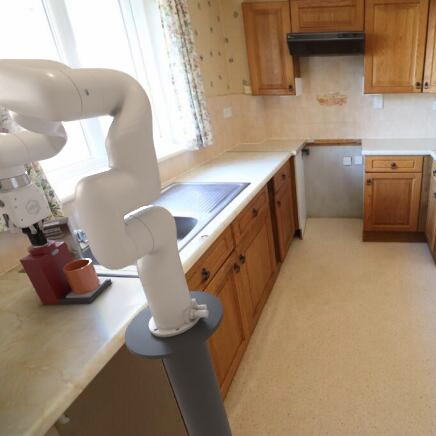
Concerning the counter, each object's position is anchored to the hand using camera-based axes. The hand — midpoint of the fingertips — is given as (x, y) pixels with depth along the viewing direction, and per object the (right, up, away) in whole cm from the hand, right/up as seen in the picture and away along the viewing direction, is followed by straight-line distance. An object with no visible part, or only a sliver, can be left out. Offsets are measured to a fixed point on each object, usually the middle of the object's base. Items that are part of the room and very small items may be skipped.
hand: (40, 244), depth 90 cm
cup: (+9, -13, +6) cm, 17 cm away
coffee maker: (+8, -15, +7) cm, 19 cm away
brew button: (0, -1, +1) cm, 2 cm away
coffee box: (-10, -9, +23) cm, 27 cm away
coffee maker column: (+1, -16, +7) cm, 17 cm away
